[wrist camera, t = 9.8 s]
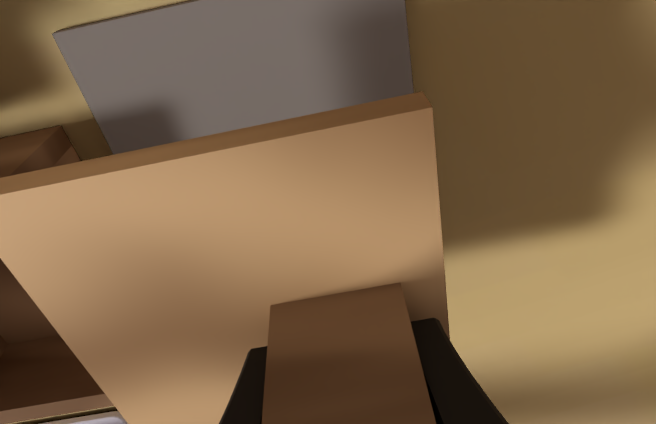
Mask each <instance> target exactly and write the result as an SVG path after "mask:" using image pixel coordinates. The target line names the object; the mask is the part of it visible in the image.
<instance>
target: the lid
mask: <svg viewBox="0 0 656 424" xmlns="http://www.w3.org/2000/svg"><path fill="white" fill-rule="evenodd" d="M0 258H1V260H2V261H3V262H4V264H5V265H6V266H7V268H8V269H9V270H10V271H11V273H12V274H13V275H14V277H15V278H16V279H17V280H18V282H19V283H20V284H21V286H22V287H23V288H24V290H25V291H26V292H27V293H28V295H29V296H30V297H31V299H32V300H33V301H34V302H35V304H36V305H37V306H38V308H39V309H40V310H41V312H42V313H43V314H44V315H45V317H46V318H47V319H48V321H49V322H50V323H51V324H52V326H53V327H54V328H55V330H56V331H57V332H58V334H59V335H60V336H61V337H62V339H63V340H64V341H65V343H66V344H67V345H68V346H69V348H70V349H71V350H72V352H73V353H74V354H75V356H76V357H77V358H78V359H79V361H80V362H81V363H82V365H83V366H84V367H85V368H86V370H87V371H88V372H89V374H90V375H91V376H92V378H93V379H94V380H95V381H96V383H97V384H98V385H99V387H100V388H101V389H102V390H103V392H104V393H105V394H106V396H107V397H108V398H109V400H110V401H111V402H112V403H113V405H114V406H115V407H116V409H117V410H118V411H119V412H120V414H121V415H122V416H123V418H124V419H125V420H126V422H127V423H128V424H219V422H220V420H221V418H222V416H223V414H224V411H225V409H226V407H227V404H228V402H229V400H230V397H231V395H232V393H233V390H234V388H235V385H236V383H237V380H238V378H239V375H240V373H241V370H242V367H243V365H244V362H245V359H246V357H247V354H248V352H249V351H250V350H251V349H253V348H259V347H265V346H267V358H266V371H265V385H264V398H263V411H262V424H436V421H435V417H434V413H433V409H432V405H431V401H430V397H429V393H428V389H427V385H426V381H425V377H424V373H423V369H422V366H421V362H420V358H419V354H418V350H417V346H416V342H415V338H414V334H413V330H412V326H411V321H417V320H422V319H428V318H436V319H438V320H439V321H440V323H441V325H442V327H443V329H444V331H445V333H446V335H447V336H448V338H449V340H450V336H449V323H448V310H447V296H446V283H445V269H444V256H443V243H442V229H441V216H440V203H439V189H438V176H437V162H436V149H435V136H434V122H433V109H432V106H431V104H430V103H429V101H428V99H427V98H426V96H425V94H424V93H423V91H422V92H417V93H412V94H407V95H402V96H398V97H393V98H388V99H383V100H378V101H373V102H368V103H363V104H359V105H354V106H349V107H344V108H339V109H334V110H329V111H324V112H319V113H315V114H310V115H305V116H300V117H295V118H290V119H285V120H280V121H276V122H271V123H266V124H261V125H256V126H251V127H246V128H241V129H237V130H232V131H227V132H222V133H217V134H212V135H207V136H202V137H198V138H193V139H188V140H183V141H178V142H173V143H168V144H163V145H159V146H154V147H149V148H144V149H139V150H134V151H129V152H124V153H119V154H115V155H110V156H105V157H100V158H95V159H90V160H85V161H80V162H76V163H71V164H66V165H61V166H56V167H51V168H46V169H41V170H37V171H32V172H27V173H22V174H17V175H12V176H7V177H2V178H0Z"/></svg>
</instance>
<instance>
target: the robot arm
mask: <svg viewBox="0 0 656 424" xmlns="http://www.w3.org/2000/svg"><path fill="white" fill-rule="evenodd" d="M411 326H412V330H413V334H414V338H415V342H416V346H417V350H418V354H419V358H420V362H421V366H422V369H423V373H424V377H425V381H426V385H427V389H428V393H429V397H430V401H431V405H432V409H433V413H434V417H435V421H436V424H509V423H508V422H507V421H506V420H505V418H504V417H503V416H502V415H501V413H500V412H499V411H498V410H497V408H496V407H495V406H494V404H493V403H492V402H491V400H490V399H489V398H488V396H487V395H486V394H485V392H484V391H483V389H482V388H481V387H480V385H479V384H478V383H477V381H476V380H475V379H474V377H473V376H472V374H471V373H470V371H469V370H468V368H467V367H466V365H465V364H464V362H463V361H462V359H461V358H460V356H459V355H458V353H457V352H456V350H455V348H454V347H453V345H452V343H451V342H450V340H449V338H448V336H447V335H446V333H445V331H444V329H443V327H442V325H441V323H440V321H439V320H438V319H436V318H428V319H422V320H417V321H411ZM266 358H267V346H265V347H259V348H253V349H251V350H250V351H249V352H248V354H247V357H246V359H245V362H244V365H243V367H242V370H241V373H240V375H239V378H238V380H237V383H236V385H235V388H234V390H233V393H232V395H231V397H230V400H229V402H228V404H227V407H226V409H225V411H224V414H223V416H222V418H221V420H220V422H219V424H262V411H263V398H264V385H265V371H266ZM40 424H128V423H127V422H126V420H125V419H124V418H123V416H122V415H121V414H120V412H119V411H112V412H106V413H100V414H94V415H88V416H82V417H76V418H70V419H64V420H58V421H52V422H46V423H40Z"/></svg>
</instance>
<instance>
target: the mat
mask: <svg viewBox="0 0 656 424" xmlns="http://www.w3.org/2000/svg"><path fill="white" fill-rule="evenodd" d="M52 35H53V37H54V39H55V41H56V43H57V45H58V47H59V49H60V51H61V53H62V55H63V57H64V59H65V61H66V63H67V65H68V67H69V69H70V71H71V72H72V74H73V76H74V78H75V80H76V82H77V84H78V86H79V88H80V90H81V92H82V94H83V96H84V98H85V100H86V102H87V104H88V106H89V108H90V110H91V112H92V114H93V116H94V117H95V119H96V121H97V123H98V125H99V127H100V129H101V131H102V133H103V135H104V137H105V139H106V141H107V143H108V145H109V147H110V149H111V151H112V153H113V155H115V154H119V153H124V152H129V151H134V150H139V149H144V148H149V147H154V146H159V145H163V144H168V143H173V142H178V141H183V140H188V139H193V138H198V137H202V136H207V135H212V134H217V133H222V132H227V131H232V130H237V129H241V128H246V127H251V126H256V125H261V124H266V123H271V122H276V121H280V120H285V119H290V118H295V117H300V116H305V115H310V114H315V113H319V112H324V111H329V110H334V109H339V108H344V107H349V106H354V105H359V104H363V103H368V102H373V101H378V100H383V99H388V98H393V97H398V96H402V95H407V94H412V93H414V90H413V80H412V69H411V59H410V49H409V38H408V28H407V18H406V7H405V0H191V1H187V2H182V3H178V4H173V5H169V6H164V7H160V8H156V9H151V10H147V11H142V12H138V13H134V14H129V15H125V16H120V17H116V18H112V19H107V20H103V21H98V22H94V23H89V24H85V25H81V26H76V27H72V28H67V29H63V30H59V31H56V32H54V33H53V34H52Z"/></svg>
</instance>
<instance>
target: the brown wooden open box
mask: <svg viewBox="0 0 656 424" xmlns="http://www.w3.org/2000/svg"><path fill="white" fill-rule="evenodd" d="M76 162H80V159H79V157H78V155H77V153H76V152H75V150H74V148H73V146H72V144H71V143H70V141H69V139H68V137H67V136H66V134H65V132H64V130H63V128H62V127H61V126H56V127H51V128H47V129H42V130H37V131H33V132H28V133H23V134H18V135H14V136H9V137H4V138H0V178H2V177H7V176H12V175H17V174H22V173H27V172H32V171H37V170H41V169H46V168H51V167H56V166H61V165H66V164H71V163H76ZM109 406H114V405H113V403H112V402H111V401H110V400H109V398H108V397H107V396H106V394H105V393H104V392H103V390H102V389H101V388H100V387H99V385H98V384H97V383H96V381H95V380H94V379H93V378H92V376H91V375H90V374H89V372H88V371H87V370H86V368H85V367H84V366H83V365H82V363H81V362H80V361H79V359H78V358H77V357H76V356H75V354H74V353H73V352H72V350H71V349H70V348H69V346H68V345H67V344H66V343H65V341H64V340H63V339H62V337H61V336H60V335H59V334H58V332H57V331H56V330H55V328H54V327H53V326H52V324H51V323H50V322H49V321H48V319H47V318H46V317H45V315H44V314H43V313H42V312H41V310H40V309H39V308H38V306H37V305H36V304H35V302H34V301H33V300H32V299H31V297H30V296H29V295H28V293H27V292H26V291H25V290H24V288H23V287H22V286H21V284H20V283H19V282H18V280H17V279H16V278H15V277H14V275H13V274H12V273H11V271H10V270H9V269H8V268H7V266H6V265H5V264H4V262H3V261H2V260H1V258H0V424H7V423H13V422H19V421H25V420H31V419H37V418H43V417H49V416H55V415H61V414H67V413H73V412H79V411H85V410H91V409H97V408H103V407H109Z"/></svg>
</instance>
